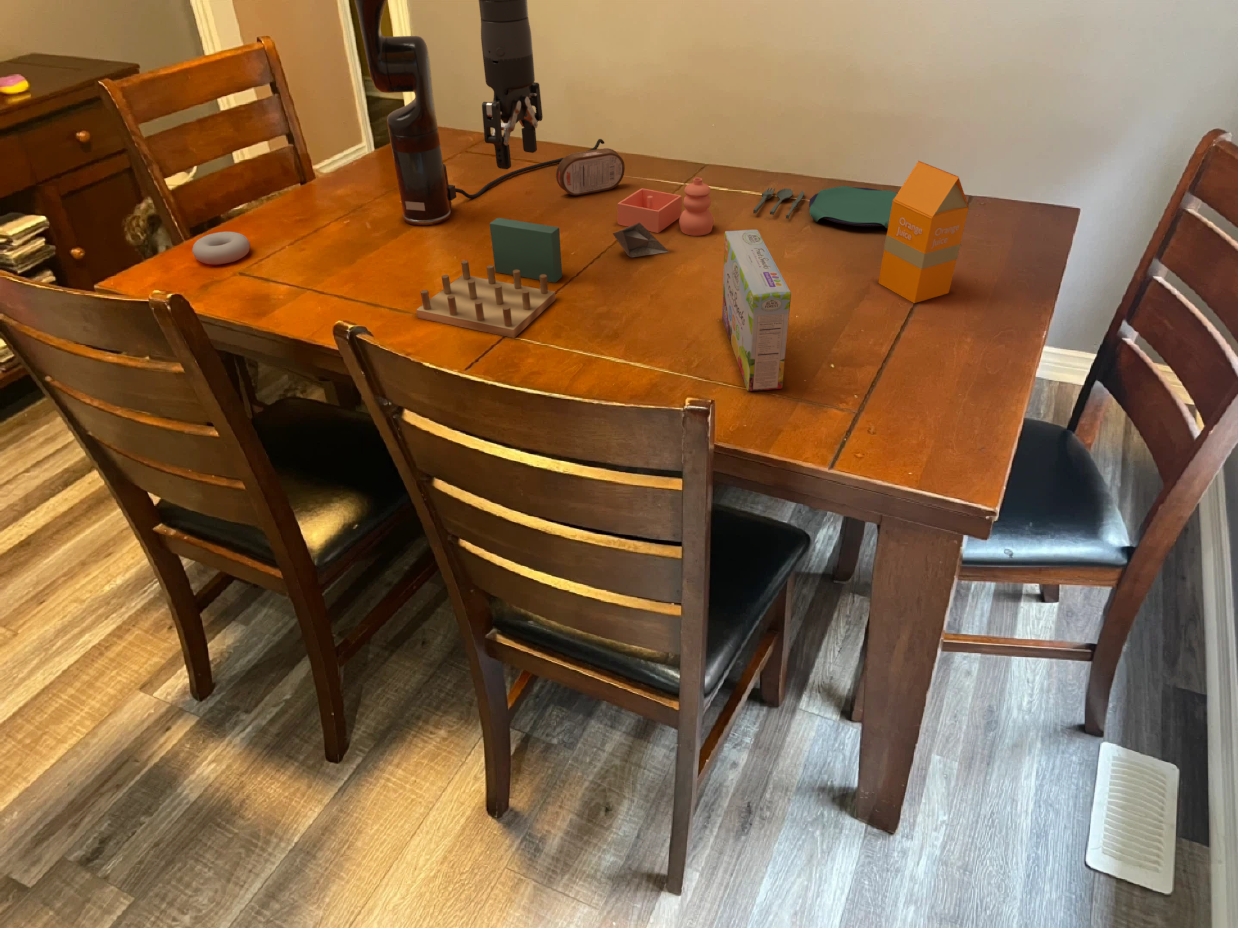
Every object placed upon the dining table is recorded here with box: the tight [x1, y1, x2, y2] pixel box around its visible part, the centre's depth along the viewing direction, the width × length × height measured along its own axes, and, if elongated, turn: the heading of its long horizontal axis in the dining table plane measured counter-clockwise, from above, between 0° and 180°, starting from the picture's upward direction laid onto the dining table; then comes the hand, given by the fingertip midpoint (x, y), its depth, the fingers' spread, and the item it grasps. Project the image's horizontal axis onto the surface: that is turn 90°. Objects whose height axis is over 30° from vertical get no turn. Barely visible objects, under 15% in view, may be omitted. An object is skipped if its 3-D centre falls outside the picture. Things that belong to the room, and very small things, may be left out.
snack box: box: [721, 228, 792, 392], centre depth 123 cm, size 21×6×15 cm, turn 5°
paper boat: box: [612, 223, 670, 258], centre depth 154 cm, size 12×6×9 cm
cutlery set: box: [752, 185, 898, 229], centre depth 170 cm, size 20×30×2 cm, turn 69°
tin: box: [555, 147, 626, 196], centre depth 180 cm, size 15×3×8 cm, turn 115°
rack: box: [415, 259, 556, 339], centre depth 139 cm, size 14×18×4 cm
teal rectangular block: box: [489, 217, 563, 284], centre depth 148 cm, size 3×12×9 cm, turn 66°
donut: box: [191, 231, 251, 266], centre depth 158 cm, size 10×4×10 cm
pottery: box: [616, 177, 714, 237], centre depth 164 cm, size 18×10×10 cm, turn 59°
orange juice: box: [877, 160, 970, 304], centre depth 137 cm, size 8×9×20 cm
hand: (517, 159), depth 138 cm, fingers open, 8 cm apart
